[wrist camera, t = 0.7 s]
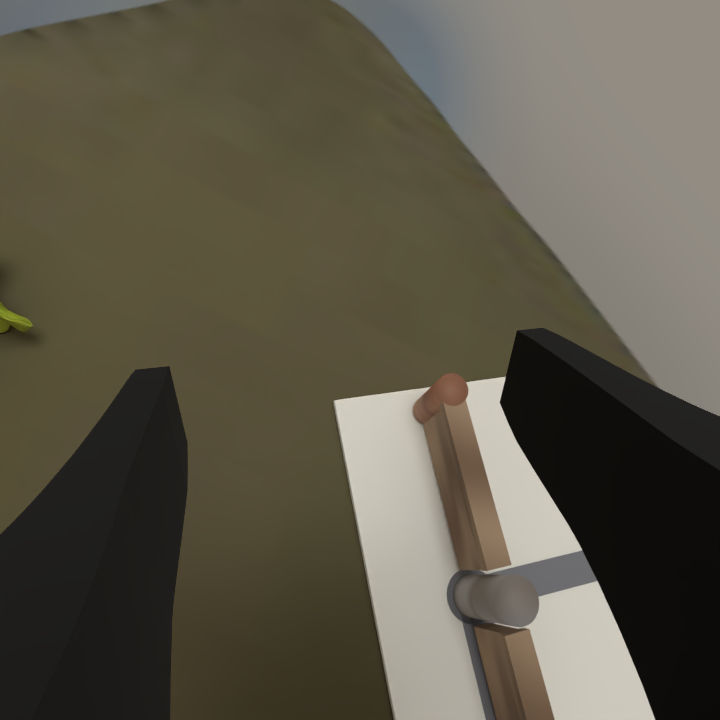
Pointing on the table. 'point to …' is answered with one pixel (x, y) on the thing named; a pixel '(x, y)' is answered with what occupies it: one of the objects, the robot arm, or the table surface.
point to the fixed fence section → (506, 642)
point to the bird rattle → (12, 320)
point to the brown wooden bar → (462, 475)
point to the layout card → (441, 571)
